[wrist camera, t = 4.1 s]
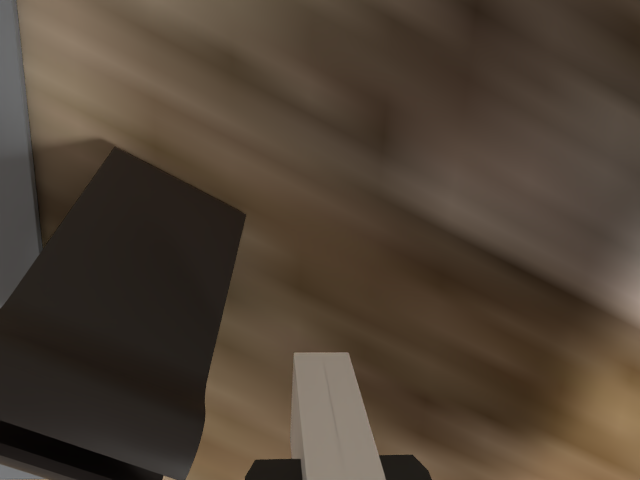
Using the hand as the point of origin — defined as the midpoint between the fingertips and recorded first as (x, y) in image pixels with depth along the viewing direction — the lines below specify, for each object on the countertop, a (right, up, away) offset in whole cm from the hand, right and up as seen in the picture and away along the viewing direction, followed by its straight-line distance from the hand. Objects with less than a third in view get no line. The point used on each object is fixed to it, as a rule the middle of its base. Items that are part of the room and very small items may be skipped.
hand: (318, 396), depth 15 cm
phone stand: (-8, +3, +9) cm, 13 cm away
